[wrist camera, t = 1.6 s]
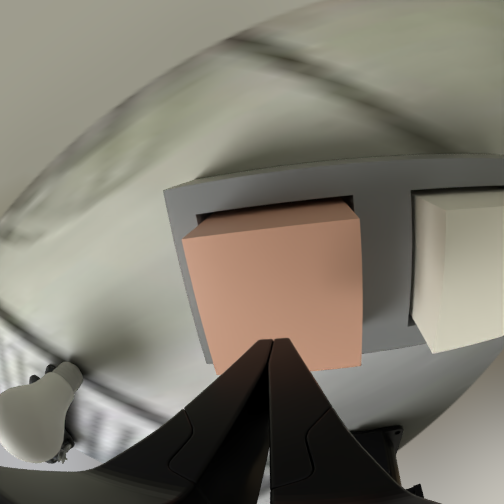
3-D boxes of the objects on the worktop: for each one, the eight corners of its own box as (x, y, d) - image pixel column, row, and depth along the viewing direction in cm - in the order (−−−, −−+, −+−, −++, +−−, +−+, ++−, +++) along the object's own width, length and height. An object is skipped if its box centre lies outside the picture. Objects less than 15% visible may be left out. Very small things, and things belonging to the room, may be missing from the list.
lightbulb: (82, 337, 21) (-2, 427, 11) (115, 395, 23) (55, 487, 12) (41, 340, 22) (-33, 411, 12) (72, 391, 24) (14, 466, 14)
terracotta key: (346, 309, 15) (361, 365, 10) (236, 318, 16) (216, 374, 11) (339, 196, 13) (359, 218, 9) (215, 211, 14) (181, 239, 10)
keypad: (486, 290, 15) (517, 320, 12) (223, 322, 18) (206, 363, 15) (492, 153, 13) (534, 159, 9) (193, 179, 16) (163, 190, 12)
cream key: (489, 287, 13) (530, 326, 9) (403, 302, 14) (432, 353, 10) (495, 185, 11) (550, 203, 7) (403, 190, 12) (446, 210, 8)
